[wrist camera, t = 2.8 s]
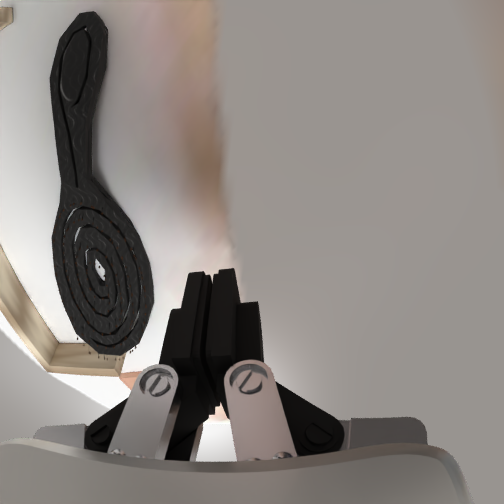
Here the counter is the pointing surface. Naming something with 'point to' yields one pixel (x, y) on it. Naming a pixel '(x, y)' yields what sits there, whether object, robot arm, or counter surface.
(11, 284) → the u-shaped wooden frame
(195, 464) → the robot arm
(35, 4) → the counter surface
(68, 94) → the hairbrush
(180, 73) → the counter surface
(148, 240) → the counter surface
